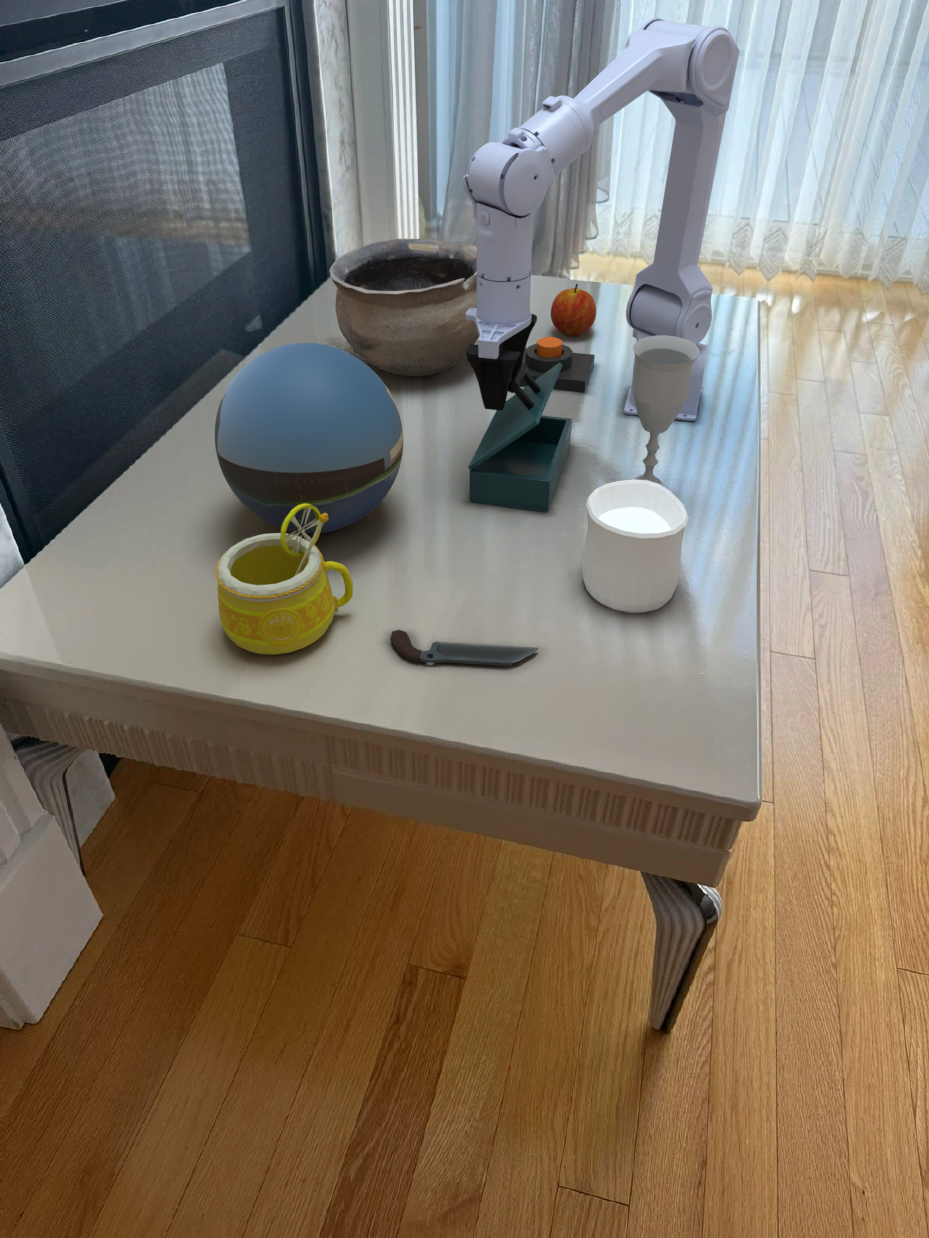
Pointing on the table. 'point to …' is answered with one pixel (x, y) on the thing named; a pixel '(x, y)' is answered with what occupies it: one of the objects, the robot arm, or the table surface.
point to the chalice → (660, 387)
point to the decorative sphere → (309, 436)
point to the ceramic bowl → (408, 303)
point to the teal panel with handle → (517, 411)
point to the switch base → (571, 373)
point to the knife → (461, 652)
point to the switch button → (549, 347)
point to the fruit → (573, 312)
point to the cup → (633, 545)
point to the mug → (278, 589)
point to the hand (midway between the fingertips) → (501, 393)
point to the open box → (524, 468)
